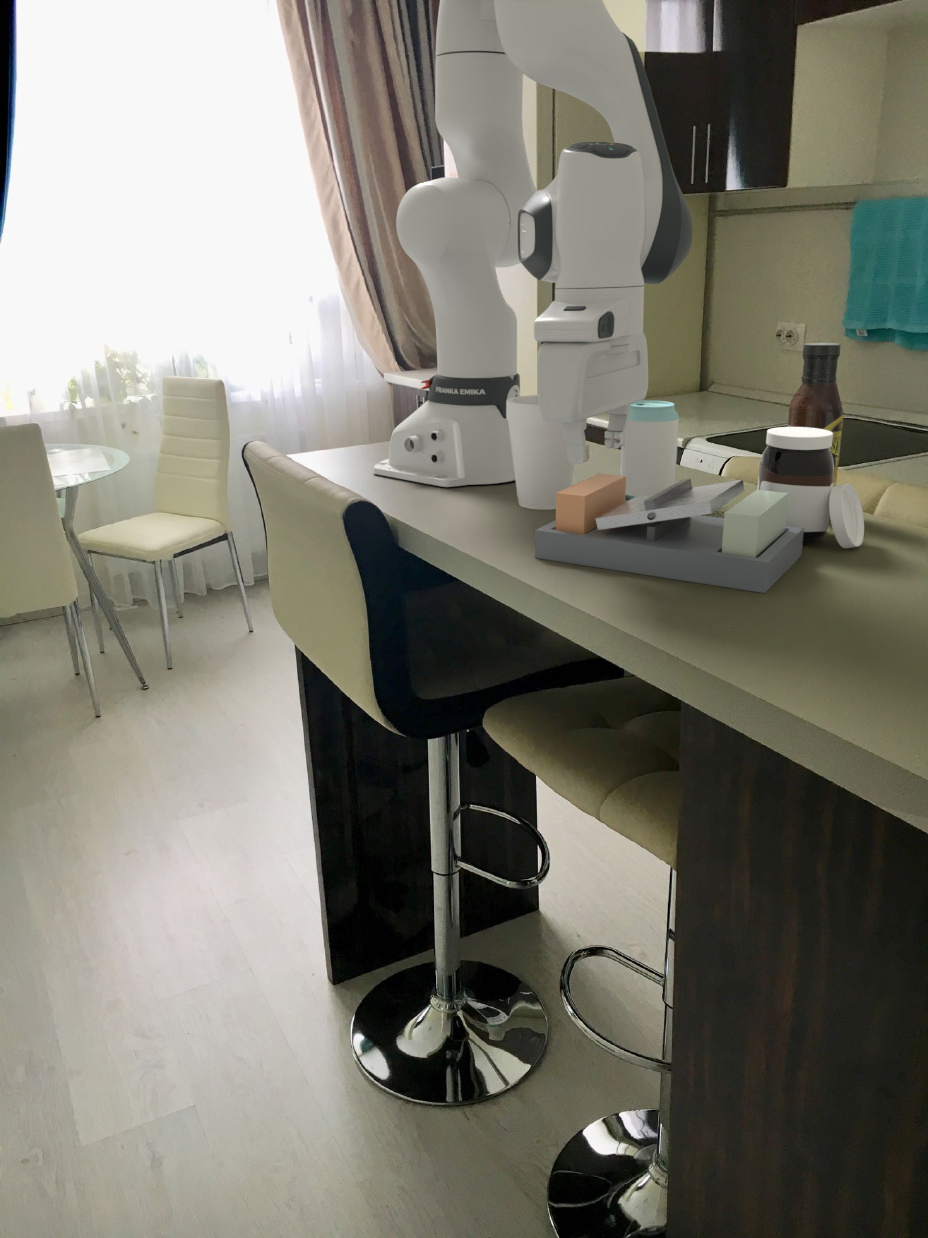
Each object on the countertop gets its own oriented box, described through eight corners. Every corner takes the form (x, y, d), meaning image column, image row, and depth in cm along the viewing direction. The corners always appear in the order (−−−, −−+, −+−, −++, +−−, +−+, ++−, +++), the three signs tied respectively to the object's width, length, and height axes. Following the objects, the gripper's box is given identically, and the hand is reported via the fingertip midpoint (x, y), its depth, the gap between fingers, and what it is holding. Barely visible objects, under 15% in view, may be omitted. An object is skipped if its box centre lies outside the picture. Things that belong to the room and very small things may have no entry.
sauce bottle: (836, 520, 119) (856, 346, 112) (781, 517, 120) (798, 345, 113) (828, 506, 125) (847, 341, 118) (776, 505, 126) (792, 340, 119)
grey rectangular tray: (534, 557, 106) (535, 516, 104) (589, 527, 117) (591, 489, 115) (764, 593, 94) (769, 546, 92) (801, 555, 105) (805, 513, 104)
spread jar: (749, 523, 118) (758, 423, 114) (850, 527, 116) (863, 425, 112) (759, 552, 107) (770, 442, 103) (871, 556, 105) (886, 444, 101)
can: (616, 501, 129) (620, 406, 125) (621, 489, 135) (625, 398, 131) (672, 503, 127) (678, 407, 123) (675, 491, 134) (680, 399, 130)
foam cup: (525, 515, 122) (526, 407, 118) (494, 499, 130) (494, 397, 126) (594, 507, 126) (597, 402, 121) (560, 492, 134) (562, 393, 129)
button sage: (721, 553, 96) (724, 512, 95) (753, 527, 105) (756, 489, 104) (754, 557, 95) (758, 516, 94) (784, 531, 104) (788, 492, 102)
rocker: (596, 530, 102) (592, 509, 102) (639, 506, 112) (635, 487, 111) (710, 514, 96) (706, 491, 95) (745, 490, 105) (741, 469, 104)
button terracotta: (555, 530, 105) (556, 492, 104) (598, 508, 114) (599, 473, 112) (583, 534, 103) (584, 496, 102) (624, 511, 112) (626, 475, 111)
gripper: (610, 312, 111) (608, 437, 116) (525, 323, 95) (526, 469, 99) (664, 311, 108) (660, 441, 113) (586, 323, 92) (585, 474, 96)
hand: (597, 454), depth 106 cm, fingers open, 8 cm apart
